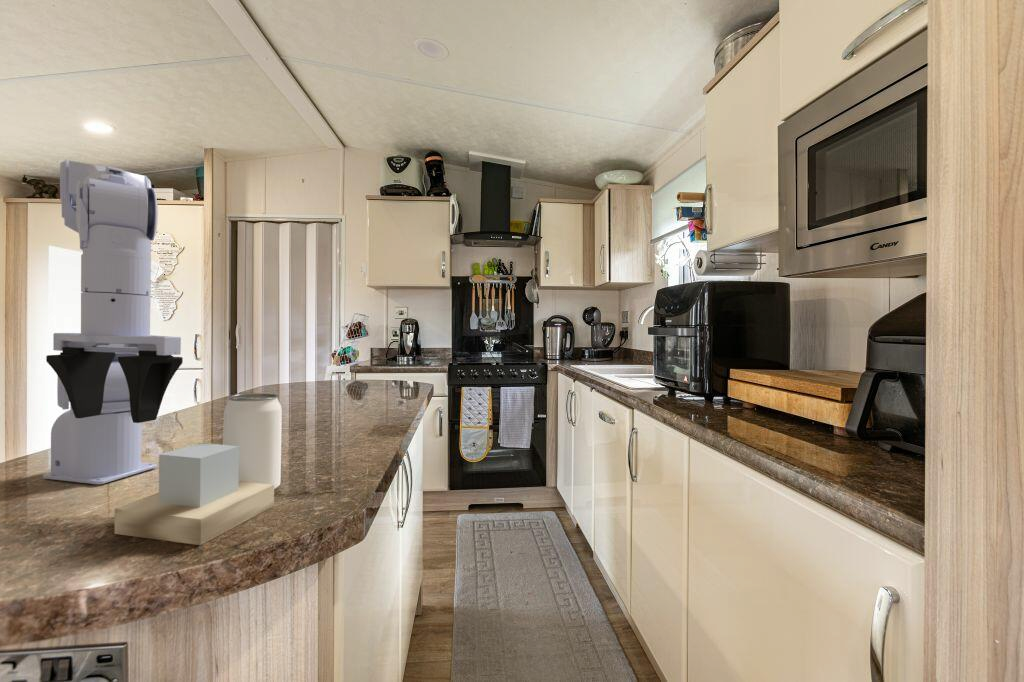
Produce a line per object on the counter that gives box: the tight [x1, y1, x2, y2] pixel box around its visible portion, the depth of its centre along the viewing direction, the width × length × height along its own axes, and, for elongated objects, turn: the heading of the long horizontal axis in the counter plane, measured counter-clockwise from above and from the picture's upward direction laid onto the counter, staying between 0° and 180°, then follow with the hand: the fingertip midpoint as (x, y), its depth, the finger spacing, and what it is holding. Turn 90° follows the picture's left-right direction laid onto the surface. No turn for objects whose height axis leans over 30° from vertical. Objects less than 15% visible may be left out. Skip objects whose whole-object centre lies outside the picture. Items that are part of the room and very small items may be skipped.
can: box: [222, 392, 283, 491], centre depth 58 cm, size 6×6×12 cm
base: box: [114, 481, 275, 546], centre depth 49 cm, size 10×10×2 cm
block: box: [158, 442, 239, 507], centre depth 49 cm, size 5×5×5 cm
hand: (115, 418), depth 50 cm, fingers open, 7 cm apart
